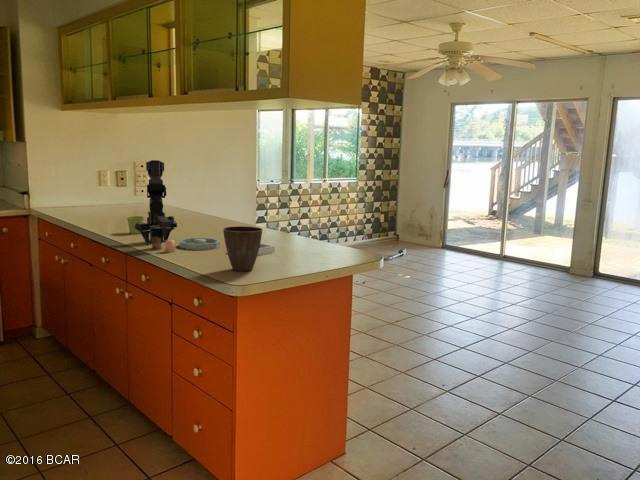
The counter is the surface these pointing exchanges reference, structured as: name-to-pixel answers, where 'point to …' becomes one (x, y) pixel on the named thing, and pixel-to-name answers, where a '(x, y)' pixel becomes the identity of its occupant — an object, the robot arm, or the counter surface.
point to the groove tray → (201, 246)
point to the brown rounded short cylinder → (156, 243)
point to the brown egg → (169, 246)
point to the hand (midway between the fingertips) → (156, 244)
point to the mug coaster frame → (266, 249)
